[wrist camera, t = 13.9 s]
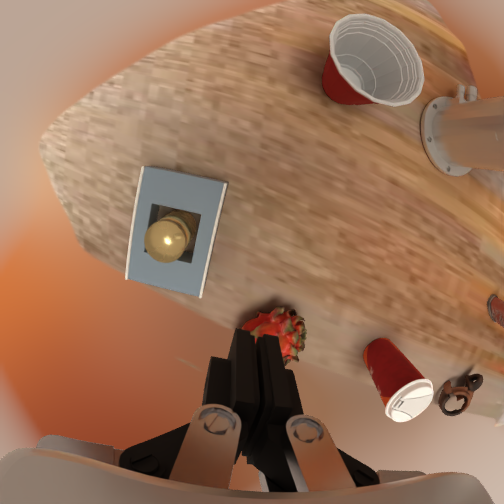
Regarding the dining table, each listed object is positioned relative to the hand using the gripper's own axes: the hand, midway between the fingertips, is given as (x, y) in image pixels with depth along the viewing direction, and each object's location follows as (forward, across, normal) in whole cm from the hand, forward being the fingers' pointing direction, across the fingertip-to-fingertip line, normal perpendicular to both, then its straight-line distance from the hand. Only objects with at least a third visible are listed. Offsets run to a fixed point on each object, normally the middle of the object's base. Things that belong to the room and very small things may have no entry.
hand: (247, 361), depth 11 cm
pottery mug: (+27, -55, +23) cm, 66 cm away
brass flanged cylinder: (+27, +8, +2) cm, 28 cm away
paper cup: (+27, -27, +15) cm, 41 cm away
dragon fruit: (+27, -7, +14) cm, 32 cm away
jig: (+27, +8, +2) cm, 28 cm away
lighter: (+27, -54, +3) cm, 61 cm away
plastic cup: (+27, -8, -22) cm, 36 cm away
